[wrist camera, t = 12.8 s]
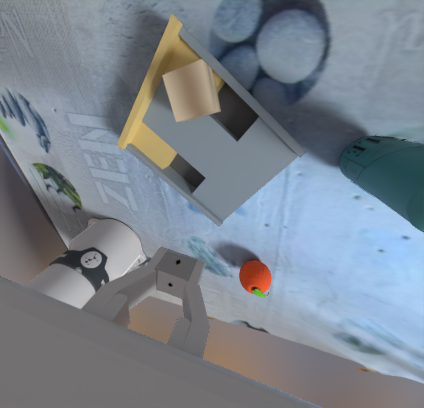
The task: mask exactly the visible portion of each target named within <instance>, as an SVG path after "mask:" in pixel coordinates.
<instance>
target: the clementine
mask: <svg viewBox="0 0 424 408" xmlns="http://www.w3.org/2000/svg"><path fill="white" fill-rule="evenodd" d="M239 278H240V282H241V284H242V286H243V287H244V288H245V290H247V291H248V292H250V293H252V294H256V295H258V296H260V297H266V296H268V295H264V294H263V293H264V292H265V291H267V290H268V288H269V287H270V284H271V273H270V271H269V269H268V267H267V266H266V265H265V264H263V263H262V262H260V261H257V260H251V261H248V262H246V263H245V264H244V265H243V266H242V267H241V269H240V273H239ZM268 294H269V293H268Z"/></svg>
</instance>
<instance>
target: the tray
mask: <svg viewBox="0 0 424 408" xmlns="http://www.w3.org/2000/svg"><path fill="white" fill-rule="evenodd" d="M201 59H202V60H204V61H205V62H206V63H207V64H208V65H209V66H210V67H211V68H212V69H213V72H214V78H215V83H216V88H217V93H218V98H219V104H220V109H221V112H217V113H214V114H210V115H207V116H203V117H200V118H196V119H193V120H189V121H180V122H176V120H175V117H174V114H173V110H172V107H171V103H170V100H169V97H168V93H167V90H166V87H165V83H164V80H163V77H162V75H164V74H166V73H169V72H171V71H174V70H176V69H179V68H181V67H184V66H186V65H188V64H191V63H193V62H196V61H198V60H201ZM117 146H118V147H119V148H120V149H125V148H126V149H127V150H128V151H129V152H130V153H132V154H133V155H134V156H135V157H136V158H138V159H139V160H140V161H141V162H142V163H144V164H145V165H146V166H147V167H148V168H150V169H151V170H152V171H153V172H154V173H155V174H157V175H158V176H159V177H160V178H161V179H163V180H164V181H165V182H166V183H167V184H169V185H170V186H171V187H172V188H173V189H175V190H176V191H177V192H178V193H179V194H181V195H182V196H183V197H184V198H185V199H186V200H188V201H189V202H190V203H191V204H192V205H194V206H195V207H196V208H197V209H198V210H200V211H201V212H202V213H203V214H204V215H206V216H207V217H208V218H209V219H210V220H212V221H213V222H214V223H215V224H216V225H218V226H220V225H221V224H222V223H223V220H225V219H226V218H227V217H228V216H229V215H230V214H232V213H233V212H234V211H235V210H236V209H237V208H239V207H240V206H241V205H242V204H243V203H244V202H246V201H247V200H248V199H249V198H250V197H251V196H253V195H254V194H255V193H256V192H257V191H258V190H260V189H261V188H262V187H263V186H264V185H265V184H266V183H268V182H269V181H270V180H271V179H272V178H273V177H275V176H276V175H277V174H278V173H279V172H280V171H282V170H283V169H284V168H285V167H286V166H287V165H289V164H290V163H291V162H292V161H293V160H294V159H296V158H297V157H298V156H299V157H301V156H302V155H304V154H305V153H306V151H305V150H304V149H303V148H302V147H301V146H300V145H299V144H298V143H297V142H296V141H295V140H294V138H293V137H292V136H291V135H290V134H289V133H288V132H287V131H286V130H285V129H284V128H283V127H282V126H281V125H280V124H279V123H278V122H277V121H276V120H275V119H274V118H273V117H272V116H271V115H270V114H269V113H268V112H267V111H266V110H265V109H264V108H263V107H262V106H261V105H260V104H259V103H258V102H257V101H256V100H255V99H254V98H253V97H252V95H251V94H250V93H249V92H248V91H247V90H246V89H245V88H244V87H243V86H242V85H241V84H240V83H239V82H238V81H237V80H236V79H235V78H234V77H233V76H232V75H231V74H230V73H229V72H228V71H227V70H226V69H225V68H224V67H223V66H222V65H221V64H220V63H219V62H218V61H217V60H216V59H215V58H214V57H213V56H212V55H211V54H210V53H209V51H208V50H207V49H206V48H205V47H204V46H203V45H202V44H201V43H200V42H199V41H198V40H197V39H196V38H195V37H194V36H193V35H192V34H191V33H190V32H189V31H188V30H187V29H186V28H185V27H184V26H183V25H182V24H181V23H180V21H179V20H178V19H177V18H176V17H175V16H174V15H173V14H172V15H171V18H170V20H169V22H168V25H167V27H166V29H165V32H164V34H163V37H162V39H161V41H160V44H159V46H158V48H157V51H156V53H155V55H154V58H153V60H152V63H151V65H150V67H149V70H148V72H147V74H146V77H145V79H144V82H143V84H142V86H141V89H140V91H139V93H138V96H137V98H136V101H135V103H134V105H133V108H132V110H131V112H130V115H129V117H128V119H127V122H126V124H125V127H124V129H123V131H122V134H121V136H120V138H119V141H118V143H117Z"/></svg>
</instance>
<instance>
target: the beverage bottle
mask: <svg viewBox="0 0 424 408" xmlns="http://www.w3.org/2000/svg"><path fill="white" fill-rule="evenodd" d="M398 139H399V138H397V139H394V137H393V138H392V137H388V136H382V137H381V136H376V135H373V136H368V137H364V138H361V139H358V140H357V141H355V142H353V143H352V144H350V145H349V146H348V147H347V148H346V149H345V150H344V152H343V153H342V155H341V157H340V161H339V165H340V170H341V172H342V173H343V174H344V175H345V176H346V177H347V178H349V179H350V180H351V182H352V181H353V182H354V183H353V184H357V185H359V187H361V188H363V190H365V191H367V193H368V192H369V193H370V194H371V196H372V195H373V197H374V196H375V197H376V198H378V199H379V200H380V201H382V202H383V203H384V204H386V205H387V206H388V207H390V208H391V209H393V210H394V211H395V212H397V213H398V214H399V215H401V216H402V217H404V218H405V219H406V220H408V221H409V222H410V223H411V224H412V225H413V226H414V227H415V228H417V229H418V230H420V231H422V232H424V144H422V143H421V144H420V143H418V142H417V143H413V142H408V141H403V140H406V139H401V140H398ZM414 142H415V141H414ZM365 191H364V192H365Z"/></svg>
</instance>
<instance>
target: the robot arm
mask: <svg viewBox="0 0 424 408" xmlns="http://www.w3.org/2000/svg"><path fill="white" fill-rule="evenodd" d="M69 243H70V244H69V250H68V251H66V252H65V253H63V254H62V255H60V256H58V257H57V258H56V259H55V260H54V261H53V262H51V263H50V265H49V267H48V268H47V269H45V270H44V271H43V272H41V273H40V274H38V275H37V276H36V277H34V278H33V279H31V280H30V281H29V282H28V283H26V284H25V285H20V284H18V283H15V282H13V281H10V280H8V279H5V278H3V277H1V276H0V408H322V407H320V406H317V405H315V404H312V403H310V402H307V401H305V400H303V399H300V398H298V397H295V396H292V395H290V394H288V393H285V392H283V391H280V390H278V389H275V388H273V387H270V386H268V385H266V384H263V383H261V382H258V381H256V380H253V379H251V378H249V377H246V376H243V375H241V374H238V373H236V372H234V371H231V370H229V369H226V368H224V367H221V366H219V365H216V364H214V363H212V362H209V361H207V360H204V359H203V354H204V350H205V346H206V341H207V337H208V333H209V328H210V326H209V322H208V318H207V313H206V309H205V305H204V301H203V297H202V293H201V289H200V285H199V284H200V281H201V278H202V274H203V270H204V266H205V261H202V260H199V259H197V258H193V257H190V256H187V255H184V254H180V253H178V252H175V251H172V250H170V249H167V248H164V247H160V248H159V249H158V251H157V252H156V253H155V255H154V256H153V257H152V259H151V260H150V261H149V263H148V264H147V266H142V267H140V268H138V269H135V270H133V271H131V272H129V273H127V274H125V273H126V272H127V271H128V270H130V269H132V268H134V267H135V266H137V265H139V264H141V263H143V262H144V261H145V260H146V256H145V255H144V253H143V251H142V246H141V243H140V240H139V238H138V237H137V235H136V234H135V233H134V232H133V231H132V230H131V229H130V228H129V227H128V226H126V225H125V224H123V223H121V222H119V221H117V220H113V219H103V220H100V219H96V218H91V219H90V220H89V221H88V228H87V229H85V230H84V231H83V232H81V233H80V234H79V235H77V236H76V237H75V238H73V239H72V240H71V241H70V242H69ZM124 274H125V275H124ZM156 290H159V291H162V292H165V293H168V294H171V295H173V296H176V297H178V298H181V299H182V303H183V312H184V317H179V318H178V319H177V321H176V324H175V326H174V329H173V331H172V333H171V336H170V338H169V341H168V343H167V344H165V343H163V342H160V341H158V340H155V339H153V338H150V337H148V336H146V335H143V334H141V333H138V332H136V331H133V330H131V329H128V328H127V327H128V325H129V324H130V315H129V309H131V308H132V307H134V306H135V305H136V304H138V303H139V302H140V301H142V300H143V299H145V298H146V297H148V296H149V295H150V294H152V293H153V292H155V291H156Z"/></svg>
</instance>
